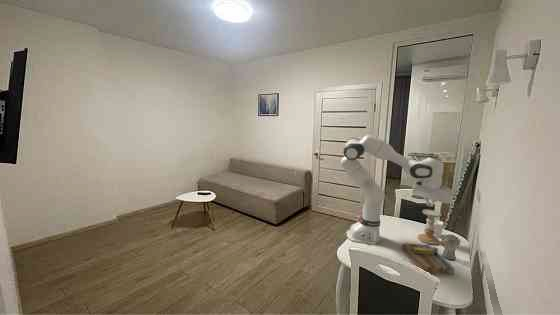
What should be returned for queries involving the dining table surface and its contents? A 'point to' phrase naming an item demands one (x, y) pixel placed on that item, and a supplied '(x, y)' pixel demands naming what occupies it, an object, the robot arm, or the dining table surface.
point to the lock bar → (425, 250)
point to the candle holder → (430, 228)
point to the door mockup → (428, 260)
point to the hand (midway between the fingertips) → (429, 206)
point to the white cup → (438, 228)
